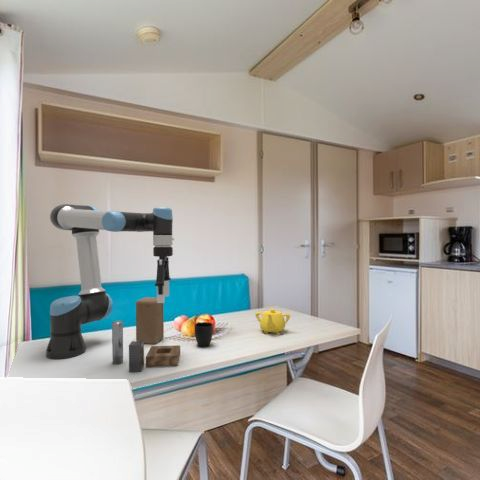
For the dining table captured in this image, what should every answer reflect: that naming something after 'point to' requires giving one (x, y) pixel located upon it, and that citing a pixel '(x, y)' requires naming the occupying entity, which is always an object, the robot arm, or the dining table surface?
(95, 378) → the dining table surface
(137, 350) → the square bit
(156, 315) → the wooden block
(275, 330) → the teapot
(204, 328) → the mug
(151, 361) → the bore block
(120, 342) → the bar
